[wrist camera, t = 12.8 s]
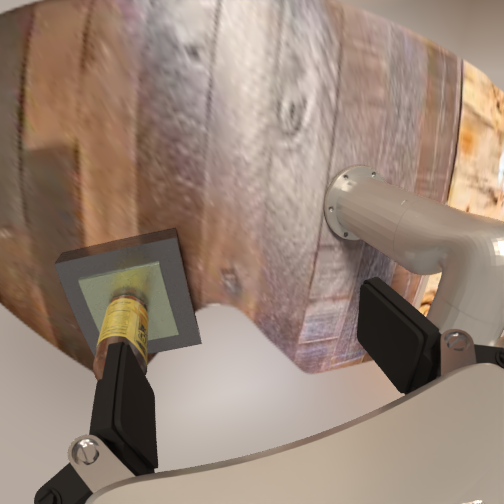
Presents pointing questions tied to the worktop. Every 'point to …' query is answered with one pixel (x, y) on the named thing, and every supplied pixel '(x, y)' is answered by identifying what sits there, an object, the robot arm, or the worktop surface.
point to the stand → (132, 287)
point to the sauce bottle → (123, 331)
